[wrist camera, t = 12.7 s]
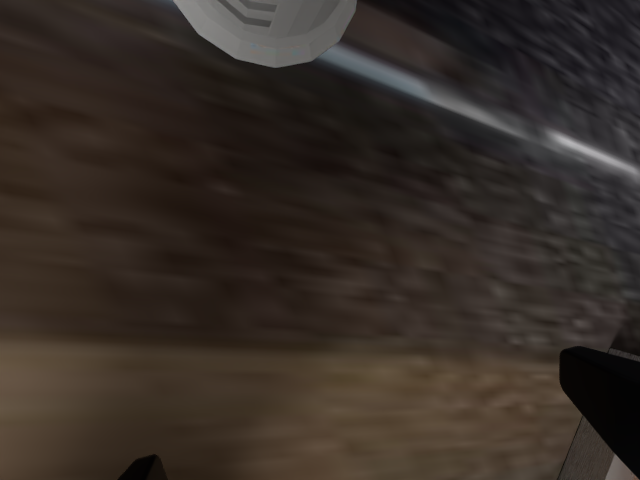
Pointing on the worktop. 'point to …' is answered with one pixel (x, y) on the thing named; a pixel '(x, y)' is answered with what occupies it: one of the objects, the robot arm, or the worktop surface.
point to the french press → (270, 27)
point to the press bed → (595, 452)
